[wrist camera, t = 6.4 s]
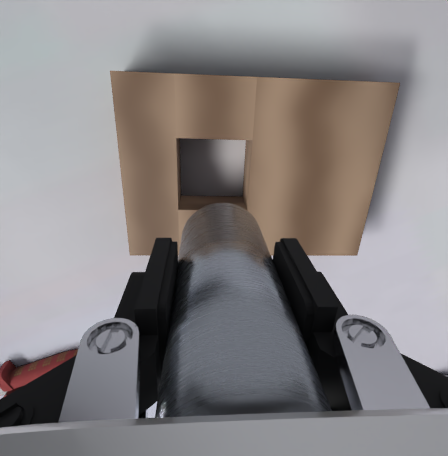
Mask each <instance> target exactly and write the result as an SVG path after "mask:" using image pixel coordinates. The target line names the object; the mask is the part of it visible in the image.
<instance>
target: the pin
mask: <svg viewBox="0 0 448 456" xmlns="http://www.w3.org/2000/svg"><path fill="white" fill-rule="evenodd" d="M321 411H332V409H331V407H330V404H329V402H328V399H327V397H326V394H325V392H324V389H323V387H322V384H321V382H320V379H319V376H318V374H317V371H316V369H315V366H314V364H313V361H312V359H311V356H310V354H309V351H308V349H307V346H306V344H305V341H304V338H303V336H302V333H301V331H300V328H299V326H298V323H297V321H296V318H295V316H294V313H293V311H292V308H291V306H290V303H289V300H288V298H287V295H286V293H285V290H284V288H283V285H282V283H281V280H280V278H279V275H278V273H277V270H276V268H275V265H274V263H273V260H272V257H271V255H270V252H269V250H268V247H267V245H266V242H265V240H264V237H263V235H262V232H261V230H260V227H259V225H258V222H257V221H256V219H255V218H254V217H253V215H252V214H251V213H249V212H248V211H247V210H245V209H244V208H242V207H240V206H238V205H235V204H230V203H215V204H210V205H207V206H205V207H202V208H201V209H199V210H197V211H196V212H195V213H194V214H192V216H191V217H190V218H189V219H188V220H187V222H186V224H185V226H184V228H183V231H182V237H181V243H180V250H179V257H178V266H177V273H176V280H175V287H174V294H173V301H172V308H171V315H170V322H169V329H168V336H167V342H166V347H165V353H164V360H163V367H162V374H161V381H160V388H159V395H158V401H157V408H156V415H155V418H162V417H186V416H210V415H237V414H264V413H292V412H321Z"/></svg>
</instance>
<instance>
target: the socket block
mask: <svg viewBox="0 0 448 456" xmlns="http://www.w3.org/2000/svg"><path fill="white" fill-rule="evenodd" d="M110 75H111V84H112V93H113V103H114V112H115V121H116V131H117V140H118V149H119V158H120V168H121V177H122V186H123V196H124V205H125V214H126V224H127V233H128V242H129V252H130V255H151V252H152V249H153V246H154V243H155V239H156V238H172V241H173V242H177V244H178V255H179V250H180V243H181V237H182V231H183V228H184V226H185V224H186V222H187V220H188V219H189V218H190V217H191V216H192V214H194V213H195V212H196V211H197V210H199V209H201V208H202V207H205V206H207V205H210V204H215V203H230V204H235V205H238V206H240V207H242V208H244V209H245V210H247V211H248V212H249V213H251V214H252V215H253V217H254V218H255V219H256V221H257V222H258V225H259V227H260V230H261V232H262V235H263V237H264V240H265V242H266V245H267V247H268V250H269V252H270V255H273V254H274V246H275V242H280V239H281V238H296V239H297V240H298V241H299V243H300V245H301V246H302V248H303V250H304V251H305V253H306V255H357V254H358V250H359V246H360V242H361V238H362V234H363V230H364V226H365V222H366V218H367V214H368V210H369V206H370V202H371V198H372V194H373V190H374V186H375V182H376V178H377V174H378V170H379V166H380V162H381V158H382V154H383V150H384V146H385V142H386V138H387V134H388V130H389V126H390V122H391V118H392V114H393V110H394V106H395V102H396V98H397V94H398V90H399V86H400V83H392V82H368V81H343V80H319V79H295V78H271V77H247V76H222V75H198V74H174V73H150V72H126V71H110ZM180 138H190V139H227V140H246V149H245V165H244V181H243V196H242V197H237V196H181V169H180Z"/></svg>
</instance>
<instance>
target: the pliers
mask: <svg viewBox="0 0 448 456" xmlns="http://www.w3.org/2000/svg"><path fill="white" fill-rule="evenodd" d="M77 352H78V349H75V350H70V351H66V352H62V353H59V354H56V355H53V356H50V357H47V358H44V359H41V360H38V361H35V362H32V363H29V364H26V365H23V366H20V367H17V368H16V366H15V365H14V364H13V363H12V362H11V361H10V360H9V361H6V362H4V364H3V365H2V366H1V368H0V396H1V395H4V394H5V395H4V397H5V396H7V395H9V394H11V393H12V392H14V391H16V390H17V389H19V388H21V387H23V386H24V385H26V384H28V383H29V382H31V381H33V380H35V379H36V378H38V377H40V376H41V375H43V374H45V373H47V372H48V371H50V370H52V369H53V368H55V367H57V366H59V365H60V364H62V363H64V362H65V361H67V360H69V359H71V358H72V357H74V356H76V355H77ZM4 397H3V398H4Z"/></svg>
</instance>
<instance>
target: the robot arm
mask: <svg viewBox="0 0 448 456" xmlns="http://www.w3.org/2000/svg"><path fill="white" fill-rule="evenodd" d="M273 263H274V265H275V268H276V270H277V273H278V275H279V278H280V280H281V283H282V285H283V288H284V290H285V293H286V295H287V298H288V300H289V303H290V306H291V308H292V311H293V313H294V316H295V318H296V321H297V323H298V326H299V328H300V331H301V333H302V336H303V338H304V341H305V344H306V346H307V349H308V351H309V354H310V356H311V359H312V361H313V364H314V366H315V369H316V371H317V374H318V376H319V379H320V382H321V384H322V387H323V389H324V392H325V394H326V397H327V399H328V402H329V404H330V407H331V409H332V411H321V412H292V413H264V414H237V415H210V416H186V417H162V418H148V413H147V409H148V408H149V407H150V406H152V405H153V404H154V403H155V402H156V401H158V395H159V388H160V381H161V374H162V367H163V360H164V353H165V347H166V342H167V336H168V329H169V322H170V315H171V308H172V301H173V294H174V287H175V280H176V273H177V266H178V244H177V242H173V241H172V238H156V239H155V243H154V246H153V249H152V252H151V256H150V259H149V262H148V265H147V269H146V272H133V273H131V275H130V278H129V280H128V283H127V286H126V288H125V291H124V294H123V296H122V299H121V301H120V304H119V307H118V309H117V312H116V314H115V317H114V318H112V319H107V320H103V321H101V322H99V323H96V324H95V325H93V326H92V327H90V328H89V329H88V330H87V331H86V332H85V333H84V335H83V337H82V339H81V341H80V345H79V348H78V352H77V355H76V356H74V357H72V358H71V359H69V360H67V361H65V362H64V363H62V364H60V365H59V366H57V367H55V368H53V369H52V370H50V371H48V372H47V373H45V374H43V375H41V376H40V377H38V378H36V379H35V380H33V381H31V382H29V383H28V384H26V385H24V386H23V387H21V388H19V389H17V390H16V391H14V392H12V393H11V394H9V395H7V396H5V397H4V398H2V399H0V456H448V375H443V374H441V373H439V372H437V371H435V370H433V369H431V368H429V367H427V366H425V365H423V364H421V363H419V362H417V361H415V360H413V359H411V358H409V357H407V356H405V355H403V354H401V353H400V352H399V350H398V348H397V346H396V345H395V343H394V341H393V339H392V337H391V335H390V334H389V333H388V331H387V330H386V329H385V328H384V327H383V326H382V325H380V324H379V323H377V322H376V321H374V320H372V319H370V318H367V317H364V316H359V315H348V314H347V312H346V310H345V309H344V307H343V306H342V304H341V303H340V301H339V299H338V298H337V296H336V295H335V293H334V291H333V290H332V288H331V287H330V285H329V283H328V282H327V280H326V279H325V277H324V276H323V274H322V273H321V272H317V271H316V269H315V268H314V266H313V265H312V263H311V261H310V260H309V258H308V256H307V255H306V253H305V251H304V250H303V248H302V246H301V245H300V243H299V241H298V240H297V239H296V238H281V239H280V242H275V246H274V254H273Z"/></svg>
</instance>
